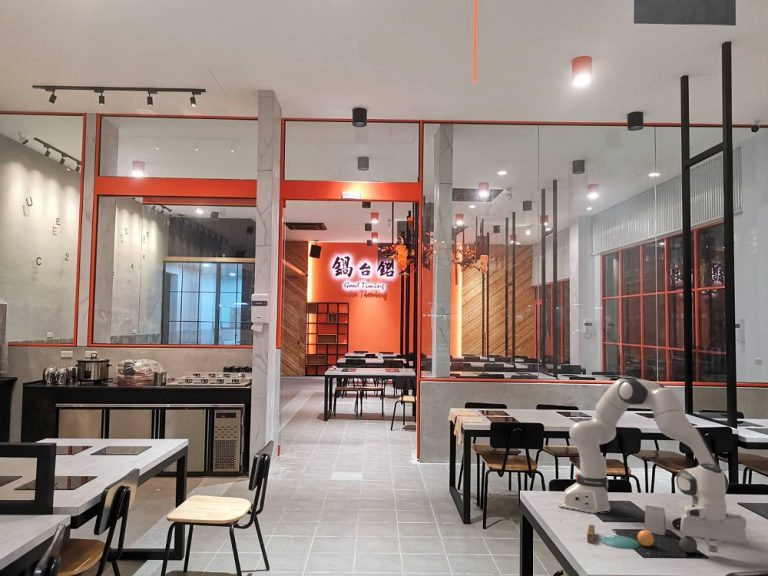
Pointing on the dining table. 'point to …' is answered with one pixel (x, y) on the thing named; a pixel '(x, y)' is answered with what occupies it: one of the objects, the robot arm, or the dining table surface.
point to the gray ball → (688, 544)
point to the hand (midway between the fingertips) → (712, 551)
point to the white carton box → (655, 520)
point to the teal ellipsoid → (620, 542)
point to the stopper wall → (590, 533)
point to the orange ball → (645, 538)
